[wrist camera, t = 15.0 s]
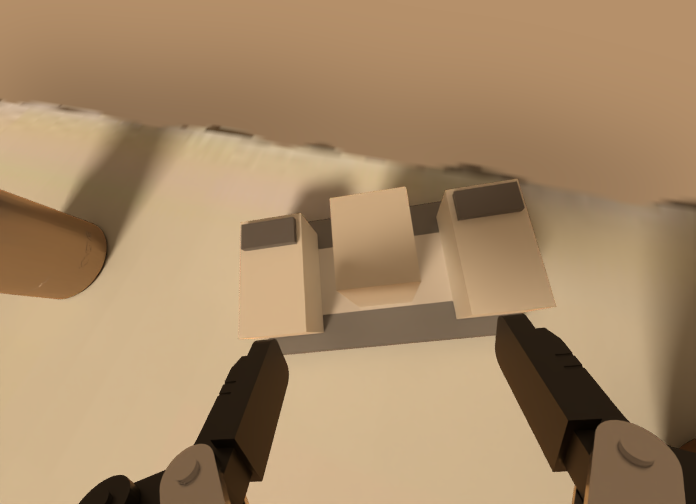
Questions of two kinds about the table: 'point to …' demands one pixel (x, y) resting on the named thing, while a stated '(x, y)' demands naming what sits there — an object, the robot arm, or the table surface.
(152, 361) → the table surface
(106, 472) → the table surface
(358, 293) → the block
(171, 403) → the table surface
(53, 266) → the robot arm
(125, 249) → the table surface
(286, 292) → the board
